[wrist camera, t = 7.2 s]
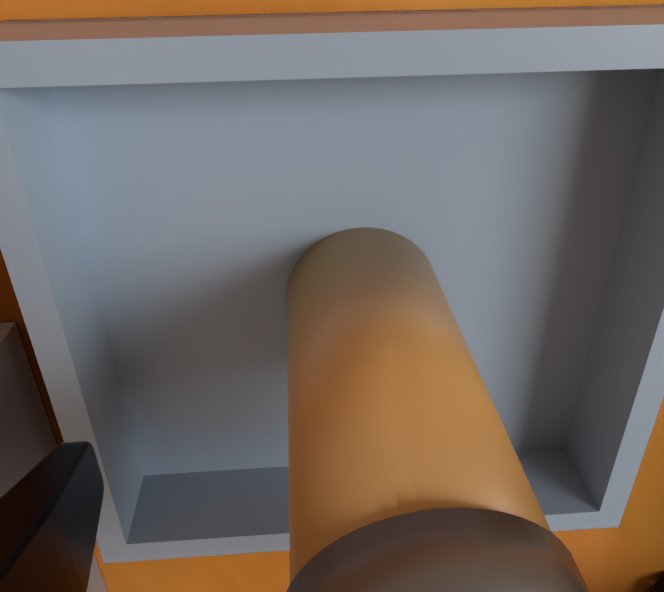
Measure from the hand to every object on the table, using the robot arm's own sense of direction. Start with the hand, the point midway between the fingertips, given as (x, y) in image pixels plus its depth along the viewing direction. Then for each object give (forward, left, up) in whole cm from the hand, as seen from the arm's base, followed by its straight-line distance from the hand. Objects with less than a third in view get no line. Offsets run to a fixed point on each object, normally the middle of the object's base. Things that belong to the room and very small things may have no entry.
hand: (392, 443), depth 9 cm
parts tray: (0, 0, -5) cm, 5 cm away
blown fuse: (0, 0, -4) cm, 4 cm away
